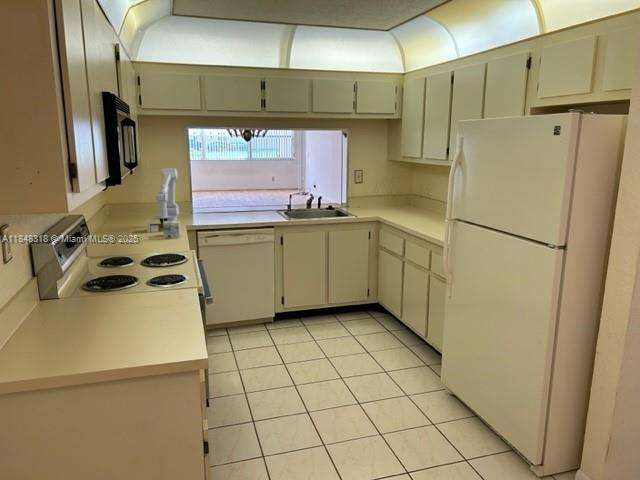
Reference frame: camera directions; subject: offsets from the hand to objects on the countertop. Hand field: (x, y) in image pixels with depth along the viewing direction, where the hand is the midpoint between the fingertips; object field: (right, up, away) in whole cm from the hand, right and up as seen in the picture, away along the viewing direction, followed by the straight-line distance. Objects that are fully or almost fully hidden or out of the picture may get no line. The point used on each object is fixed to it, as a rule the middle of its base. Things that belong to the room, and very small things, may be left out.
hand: (164, 229), depth 341 cm
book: (-6, -1, -2) cm, 6 cm away
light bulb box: (+10, -6, -14) cm, 19 cm away
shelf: (-3, -2, +1) cm, 4 cm away
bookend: (-10, -2, -3) cm, 10 cm away
